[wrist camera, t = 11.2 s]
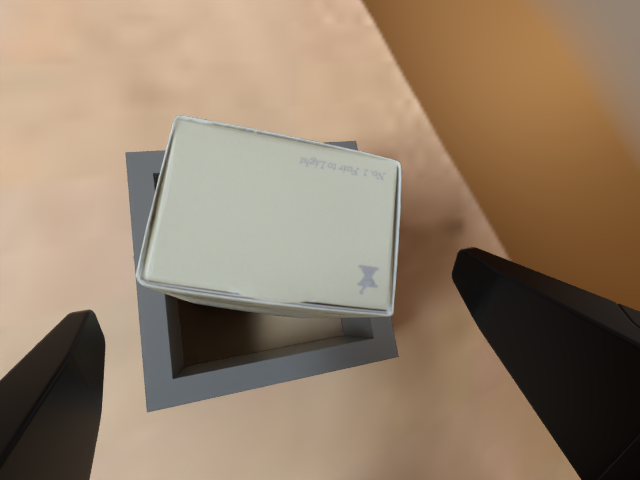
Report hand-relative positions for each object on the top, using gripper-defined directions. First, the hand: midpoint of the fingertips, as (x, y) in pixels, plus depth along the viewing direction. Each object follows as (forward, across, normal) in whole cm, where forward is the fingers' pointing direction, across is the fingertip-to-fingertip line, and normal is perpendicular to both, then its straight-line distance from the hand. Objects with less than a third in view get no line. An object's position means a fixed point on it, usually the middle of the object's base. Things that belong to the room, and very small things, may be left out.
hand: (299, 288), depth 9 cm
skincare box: (+10, 0, +7) cm, 12 cm away
